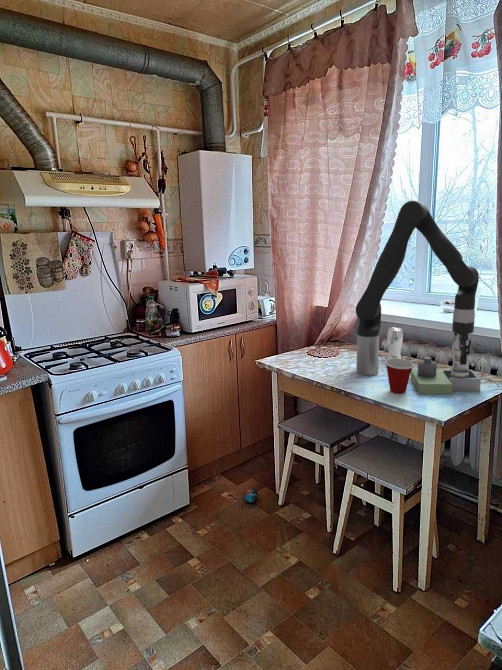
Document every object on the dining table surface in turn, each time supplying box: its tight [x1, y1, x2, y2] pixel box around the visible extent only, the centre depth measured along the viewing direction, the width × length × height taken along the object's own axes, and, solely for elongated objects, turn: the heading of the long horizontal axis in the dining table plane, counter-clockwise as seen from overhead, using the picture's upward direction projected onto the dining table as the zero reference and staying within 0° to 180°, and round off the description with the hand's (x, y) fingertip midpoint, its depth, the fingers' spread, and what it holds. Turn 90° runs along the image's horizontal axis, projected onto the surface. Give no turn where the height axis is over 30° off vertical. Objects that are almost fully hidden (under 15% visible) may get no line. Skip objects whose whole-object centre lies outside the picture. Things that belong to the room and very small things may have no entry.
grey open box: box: [442, 369, 482, 392], centre depth 181 cm, size 11×11×5 cm
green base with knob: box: [409, 356, 453, 395], centre depth 182 cm, size 12×18×11 cm, turn 171°
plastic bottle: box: [451, 333, 472, 378], centre depth 179 cm, size 6×7×20 cm
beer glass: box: [386, 327, 404, 359], centre depth 217 cm, size 7×7×15 cm
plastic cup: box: [384, 358, 415, 395], centre depth 178 cm, size 11×11×12 cm
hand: (460, 361), depth 179 cm, fingers closed on plastic bottle, 6 cm apart
